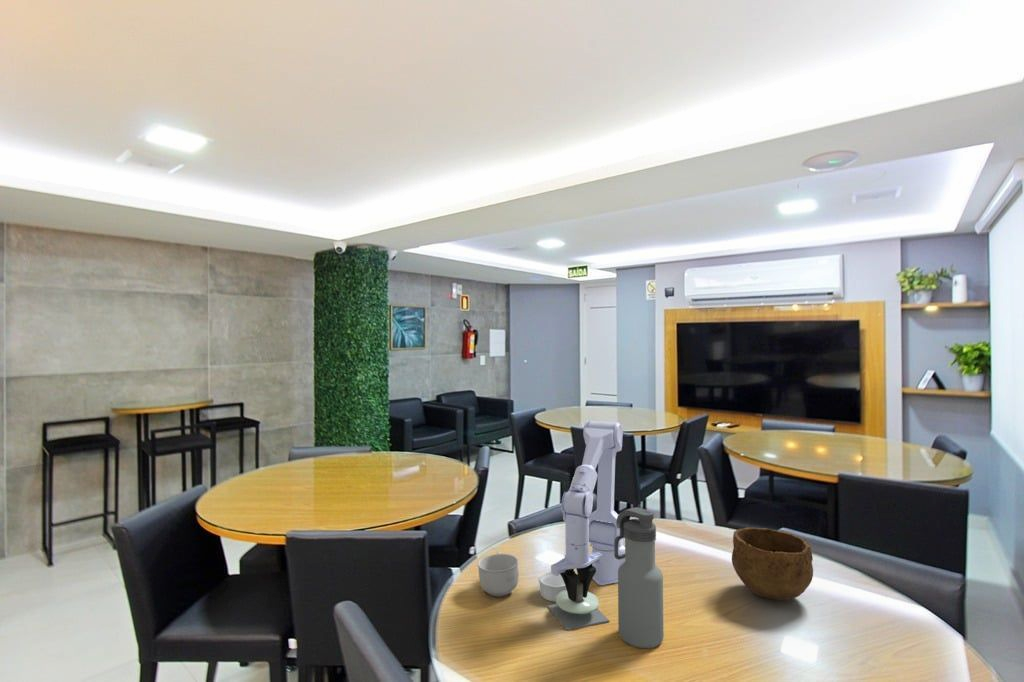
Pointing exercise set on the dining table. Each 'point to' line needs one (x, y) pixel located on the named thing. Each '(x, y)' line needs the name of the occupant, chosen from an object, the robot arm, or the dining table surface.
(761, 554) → the bowl
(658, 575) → the water bottle
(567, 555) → the robot arm
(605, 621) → the mat
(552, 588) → the ramekin
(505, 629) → the dining table surface
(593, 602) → the lid
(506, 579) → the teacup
